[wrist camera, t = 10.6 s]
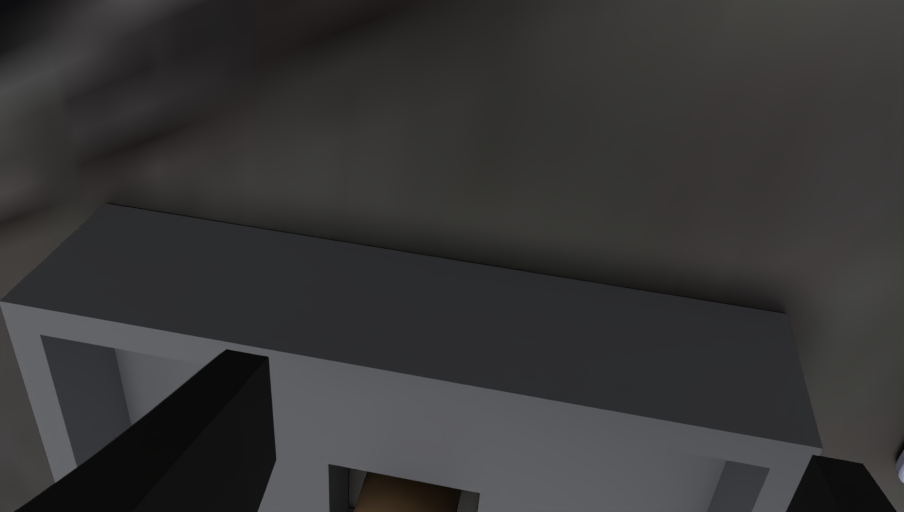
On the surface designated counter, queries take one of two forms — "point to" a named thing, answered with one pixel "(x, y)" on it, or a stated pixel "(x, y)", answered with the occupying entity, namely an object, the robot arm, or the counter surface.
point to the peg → (404, 495)
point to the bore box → (417, 369)
